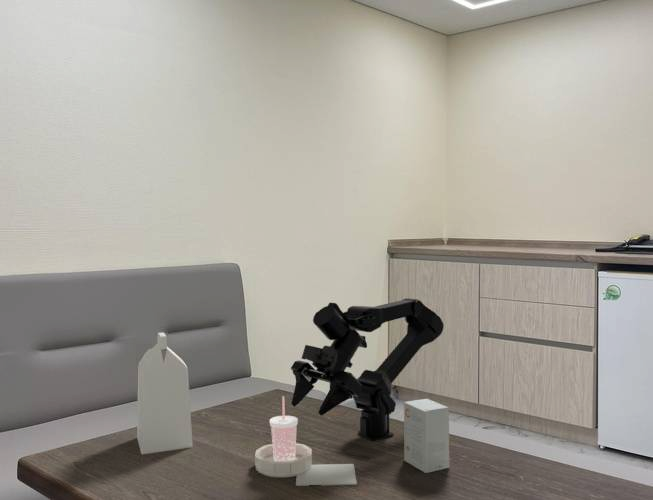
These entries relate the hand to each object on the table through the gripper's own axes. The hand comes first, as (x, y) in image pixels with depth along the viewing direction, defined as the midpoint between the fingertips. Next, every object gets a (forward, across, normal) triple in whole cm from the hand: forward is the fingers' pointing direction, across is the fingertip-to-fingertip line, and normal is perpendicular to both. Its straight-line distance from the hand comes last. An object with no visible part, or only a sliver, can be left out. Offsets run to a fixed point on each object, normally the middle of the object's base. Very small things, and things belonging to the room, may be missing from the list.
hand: (305, 409), depth 134 cm
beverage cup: (+12, 0, +2) cm, 12 cm away
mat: (+10, +10, +5) cm, 15 cm away
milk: (+20, -32, -5) cm, 38 cm away
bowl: (+12, 0, +3) cm, 13 cm away
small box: (-3, +20, +20) cm, 28 cm away
